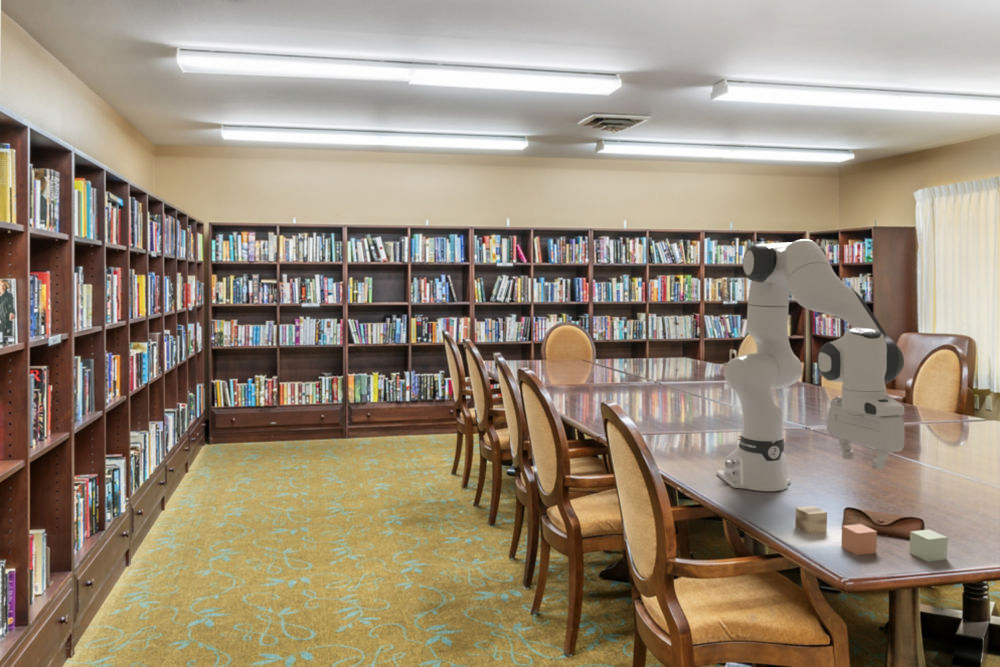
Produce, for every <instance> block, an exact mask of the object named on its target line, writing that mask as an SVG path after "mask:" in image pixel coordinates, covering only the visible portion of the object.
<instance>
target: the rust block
mask: <svg viewBox="0 0 1000 667" xmlns="http://www.w3.org/2000/svg"><path fill="white" fill-rule="evenodd" d="M841 528H842V529H841V545H840V546H841V548H843V549H845V550H846V551H848V552H849V553H852V554H854V555H855V556H860V555H861V556H862V555H870V554H871V555H872V554H877V542H878V541H877V539H878V534H877V531H875V530H873V529H871V528H868V527H866V526H864V525H862V524H856V525H847V526H842V525H841Z"/></svg>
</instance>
